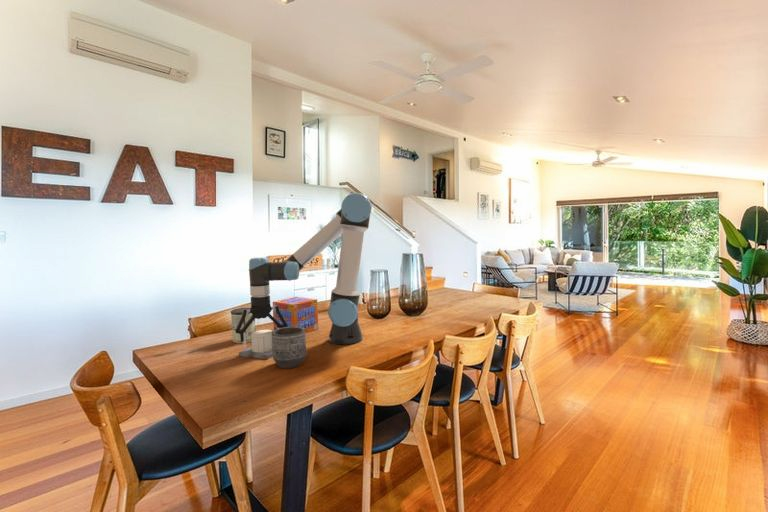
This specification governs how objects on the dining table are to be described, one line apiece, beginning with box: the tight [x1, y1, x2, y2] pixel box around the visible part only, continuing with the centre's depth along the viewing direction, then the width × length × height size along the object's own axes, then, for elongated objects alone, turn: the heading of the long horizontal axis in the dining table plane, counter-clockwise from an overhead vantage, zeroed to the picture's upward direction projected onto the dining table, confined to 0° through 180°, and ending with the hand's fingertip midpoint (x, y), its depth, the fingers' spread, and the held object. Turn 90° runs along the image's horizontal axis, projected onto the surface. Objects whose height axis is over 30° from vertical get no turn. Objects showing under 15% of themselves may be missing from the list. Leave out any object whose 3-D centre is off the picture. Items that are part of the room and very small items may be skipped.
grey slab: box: [238, 346, 273, 360], centre depth 152 cm, size 14×12×6 cm
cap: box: [250, 329, 273, 353], centre depth 152 cm, size 8×8×7 cm
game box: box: [272, 296, 319, 334], centre depth 185 cm, size 16×16×16 cm
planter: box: [272, 327, 307, 369], centre depth 138 cm, size 12×12×13 cm
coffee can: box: [230, 307, 256, 344], centre depth 171 cm, size 10×10×14 cm
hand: (262, 346), depth 152 cm, fingers open, 13 cm apart
